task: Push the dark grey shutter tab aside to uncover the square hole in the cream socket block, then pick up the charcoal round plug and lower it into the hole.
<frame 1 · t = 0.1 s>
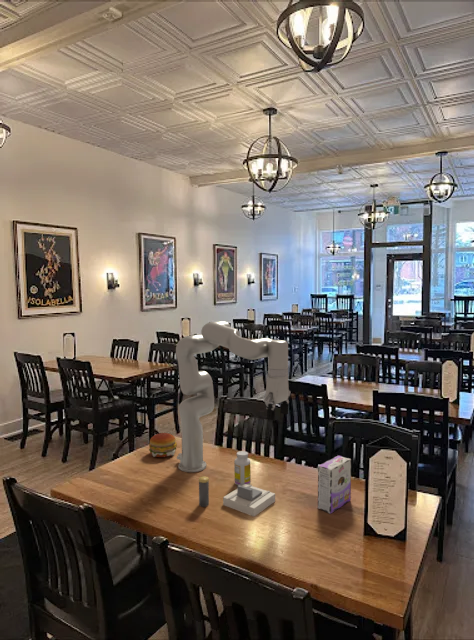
hand: (277, 416, 170), 31 cm above the table, fingers open, 9 cm apart
socket: (249, 503, 166), on the table
shutter: (249, 489, 165), point 5 cm above the table, slide at 0.0 cm
plug: (203, 504, 165), on the table
burger: (163, 454, 215), on the table
candy box: (334, 505, 165), on the table
supplement bottle: (242, 483, 182), on the table
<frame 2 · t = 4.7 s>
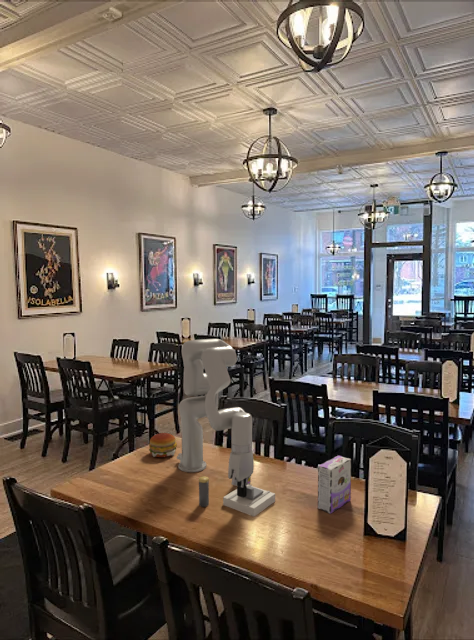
hand: (241, 495, 162), 5 cm above the table, fingers closed
shutter: (250, 488, 166), point 5 cm above the table, slide at 0.8 cm, touching gripper
everything else where it was.
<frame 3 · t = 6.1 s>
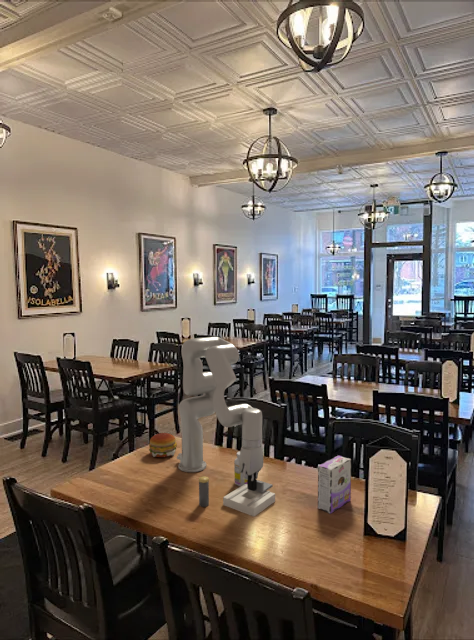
hand: (252, 489, 167), 5 cm above the table, fingers closed
shutter: (260, 482, 171), point 5 cm above the table, slide at 7.3 cm, touching gripper
everything else where it was.
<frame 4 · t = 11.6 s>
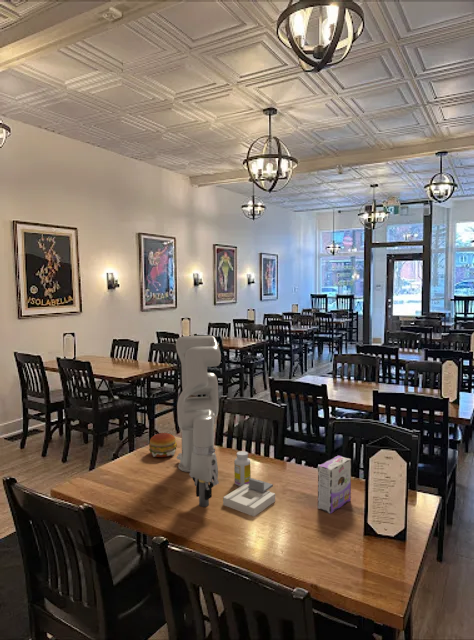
hand: (203, 496, 165), 3 cm above the table, fingers closed on plug, 3 cm apart
shutter: (260, 482, 171), point 5 cm above the table, slide at 7.5 cm
plug: (203, 504, 165), on the table, touching gripper
everything else where it was.
when the fingers open (4 cm above the table, at t = 18.1 s): plug stays where it is, resting on socket.
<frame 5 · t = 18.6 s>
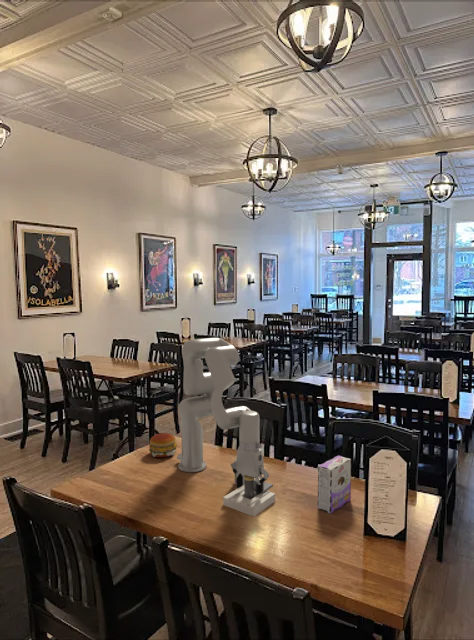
hand: (249, 490, 165), 5 cm above the table, fingers open, 8 cm apart
plug: (249, 502, 166), resting on socket
everything else where it was.
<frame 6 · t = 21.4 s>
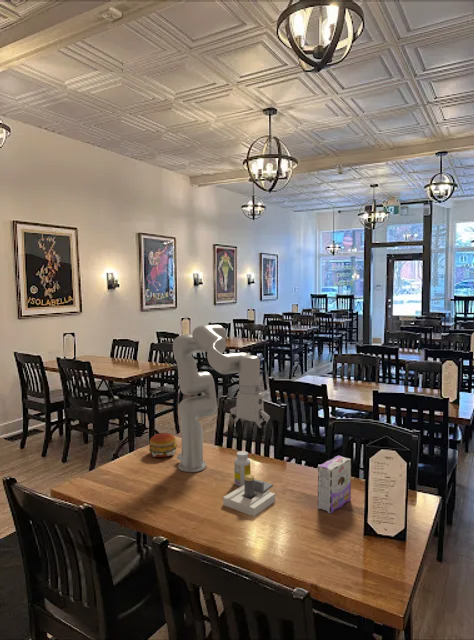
hand: (249, 434, 164), 26 cm above the table, fingers open, 9 cm apart
nothing on the table moved.
at the end: plug 0.1 cm off-centre on the socket, point 0.2 cm above the socket's base; plug tilted 0°; shutter slide at 7.5 cm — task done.
